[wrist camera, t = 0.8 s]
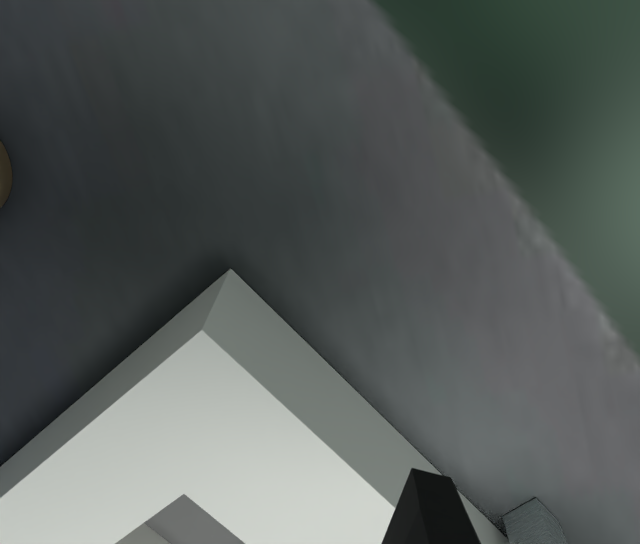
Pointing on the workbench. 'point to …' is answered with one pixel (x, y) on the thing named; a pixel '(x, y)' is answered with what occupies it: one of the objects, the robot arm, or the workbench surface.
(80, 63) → the workbench surface
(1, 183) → the peg
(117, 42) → the workbench surface
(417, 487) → the robot arm
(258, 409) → the socket block
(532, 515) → the teal topped shelf
